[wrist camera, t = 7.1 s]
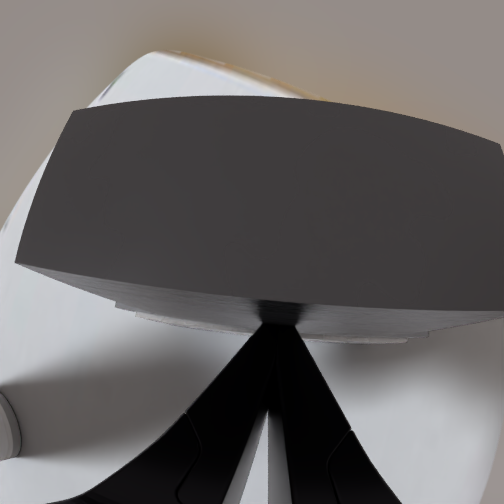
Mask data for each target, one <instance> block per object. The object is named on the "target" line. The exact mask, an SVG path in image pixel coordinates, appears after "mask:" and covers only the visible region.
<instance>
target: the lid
mask: <svg viewBox="0 0 504 504" xmlns="http://www.w3.org/2000/svg"><path fill="white" fill-rule="evenodd" d="M15 263H16V264H19V265H21V266H23V267H26V268H28V269H31V270H33V271H35V272H38V273H40V274H43V275H45V276H48V277H50V278H53V279H55V280H58V281H60V282H63V283H66V284H68V285H71V286H73V287H76V288H79V289H82V290H84V291H87V292H90V293H93V294H96V295H98V296H101V297H104V298H107V299H110V300H113V301H116V304H115V307H116V308H120V309H123V310H128V311H133V312H139V313H144V314H150V315H156V316H162V317H168V318H174V319H181V320H187V321H194V322H201V323H208V324H216V325H223V326H232V327H240V328H249V329H258V327H259V326H260V325H261V324H262V323H267V324H277V325H289V326H295V327H296V329H297V330H298V332H299V333H303V334H317V335H333V336H353V337H384V338H422V337H428V332H429V331H432V330H439V329H445V328H451V327H457V326H463V325H468V324H474V323H479V322H484V321H489V320H494V319H498V318H503V317H504V155H503V152H502V149H501V146H500V144H498V143H495V142H493V141H490V140H487V139H485V138H482V137H479V136H476V135H473V134H470V133H467V132H464V131H461V130H458V129H454V128H451V127H448V126H445V125H441V124H438V123H434V122H430V121H427V120H423V119H418V118H415V117H410V116H406V115H402V114H397V113H393V112H388V111H382V110H377V109H372V108H366V107H360V106H354V105H348V104H341V103H334V102H326V101H317V100H308V99H297V98H284V97H267V96H189V97H172V98H159V99H148V100H139V101H131V102H123V103H116V104H109V105H103V106H97V107H91V108H85V109H80V110H76V111H73V112H72V114H71V116H70V118H69V120H68V122H67V123H66V125H65V127H64V129H63V132H62V133H61V135H60V137H59V139H58V141H57V144H56V146H55V148H54V150H53V152H52V154H51V157H50V159H49V161H48V163H47V166H46V168H45V171H44V173H43V175H42V178H41V180H40V183H39V185H38V188H37V191H36V193H35V196H34V199H33V202H32V205H31V208H30V210H29V214H28V217H27V220H26V223H25V226H24V229H23V233H22V236H21V240H20V243H19V247H18V251H17V255H16V259H15Z"/></svg>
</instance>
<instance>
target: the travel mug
mask: <svg viewBox="0 0 504 504" xmlns="http://www.w3.org/2000/svg"><path fill="white" fill-rule="evenodd" d="M20 447H21V435H20V430H19V426H18V423H17V419H16V417H15V414H14V412H13V410H12V408H11V406H10V404H9V403H8V401H7V400H6V398H5V397H4V396H3V395H2V394H1V393H0V461H2V460H7V459H10V458H14V457H16V456H17V455H18V453H19V451H20Z"/></svg>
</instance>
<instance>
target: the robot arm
mask: <svg viewBox="0 0 504 504" xmlns="http://www.w3.org/2000/svg"><path fill="white" fill-rule="evenodd" d="M267 412H268V504H402V503H401V502H400V500H399V499H398V498H397V496H396V495H395V494H394V493H393V491H392V490H391V489H390V487H389V486H388V485H387V483H386V482H385V481H384V479H383V478H382V477H381V475H380V474H379V472H378V471H377V469H376V468H375V467H374V465H373V464H372V462H371V461H370V459H369V457H368V456H367V454H366V452H365V451H364V449H363V447H362V446H361V444H360V442H359V440H358V439H357V437H356V435H355V433H354V431H352V430H351V426H350V424H349V423H348V421H347V419H346V417H345V415H344V414H343V412H342V410H341V408H340V406H339V404H338V403H337V401H336V399H335V397H334V395H333V394H332V392H331V390H330V388H329V386H328V385H327V383H326V381H325V379H324V377H323V376H322V374H321V372H320V370H319V368H318V367H317V365H316V363H315V361H314V359H313V357H312V356H311V354H310V352H309V350H308V348H307V347H306V345H305V343H304V341H303V339H302V338H301V336H300V334H299V332H298V330H297V329H296V327H295V326H289V325H277V324H267V323H262V324H261V325H260V326H259V327H258V329H257V330H256V331H255V332H254V333H253V335H252V336H251V337H250V338H249V339H248V341H247V342H246V343H245V344H244V345H243V346H242V348H241V349H240V350H239V351H238V352H237V353H236V355H235V356H234V357H233V358H232V359H231V360H230V362H229V363H228V364H227V365H226V366H225V367H224V368H223V370H222V371H221V372H220V373H219V374H218V375H217V376H216V378H215V379H214V380H213V381H212V382H211V383H210V384H209V385H208V387H207V388H206V389H205V390H204V391H203V392H202V393H201V394H200V396H199V397H198V398H197V399H196V400H195V401H194V402H193V403H192V404H191V405H190V407H189V408H188V409H187V410H186V411H185V413H186V414H185V413H183V414H182V415H181V416H180V417H179V418H178V419H177V420H176V421H175V422H174V424H173V425H172V426H171V427H170V428H169V429H168V430H167V431H165V432H164V433H163V434H162V435H161V436H160V437H159V438H158V439H157V440H156V441H155V442H154V443H153V444H151V445H150V446H149V447H148V448H147V449H145V450H144V451H143V452H142V453H140V454H139V455H138V456H137V457H135V458H134V459H133V460H131V461H130V462H129V463H127V464H126V465H125V466H123V467H122V468H120V469H119V470H118V471H116V472H115V473H114V474H112V475H111V476H109V477H108V478H107V479H105V480H104V481H102V482H101V483H99V484H98V485H96V486H95V487H93V488H92V489H90V490H88V491H86V492H85V493H83V494H80V495H78V496H76V497H73V498H70V499H66V500H62V501H58V502H53V503H47V504H239V503H240V500H241V497H242V494H243V491H244V488H245V485H246V482H247V479H248V476H249V473H250V470H251V466H252V463H253V460H254V457H255V453H256V450H257V447H258V443H259V440H260V436H261V433H262V430H263V426H264V423H265V419H266V416H267ZM350 430H351V431H350Z"/></svg>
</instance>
